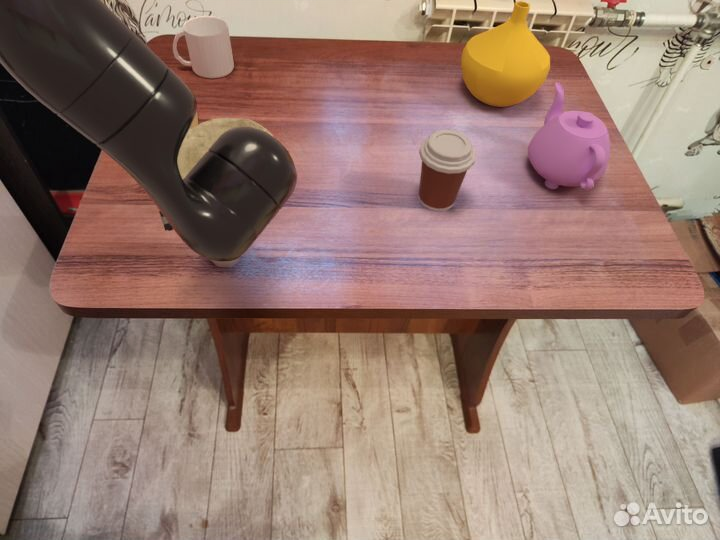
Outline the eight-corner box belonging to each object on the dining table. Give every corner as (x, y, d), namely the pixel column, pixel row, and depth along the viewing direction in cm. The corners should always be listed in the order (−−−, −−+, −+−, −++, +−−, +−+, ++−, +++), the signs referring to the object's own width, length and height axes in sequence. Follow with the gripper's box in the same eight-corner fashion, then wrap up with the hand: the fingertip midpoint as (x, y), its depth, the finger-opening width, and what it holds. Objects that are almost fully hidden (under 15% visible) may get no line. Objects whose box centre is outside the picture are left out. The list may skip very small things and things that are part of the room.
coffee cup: (468, 191, 88) (486, 136, 78) (452, 223, 82) (468, 168, 73) (422, 175, 90) (433, 119, 80) (402, 205, 85) (412, 149, 75)
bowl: (277, 198, 90) (282, 204, 76) (175, 198, 86) (160, 205, 72) (275, 120, 87) (280, 111, 73) (169, 117, 83) (152, 107, 69)
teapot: (503, 139, 98) (523, 82, 88) (567, 134, 100) (593, 78, 91) (545, 209, 86) (574, 152, 76) (616, 201, 88) (653, 145, 79)
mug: (236, 58, 111) (230, 16, 104) (231, 79, 106) (224, 37, 98) (183, 56, 110) (173, 14, 103) (175, 77, 105) (163, 34, 98)
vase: (443, 74, 112) (462, -15, 97) (517, 70, 115) (546, -17, 100) (469, 121, 101) (495, 29, 86) (550, 115, 104) (588, 25, 89)
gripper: (274, 156, 55) (255, 172, 71) (142, 186, 51) (154, 196, 67) (292, 220, 56) (269, 222, 72) (165, 255, 52) (171, 248, 68)
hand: (214, 209), depth 69 cm, fingers closed on salt shaker, 4 cm apart
